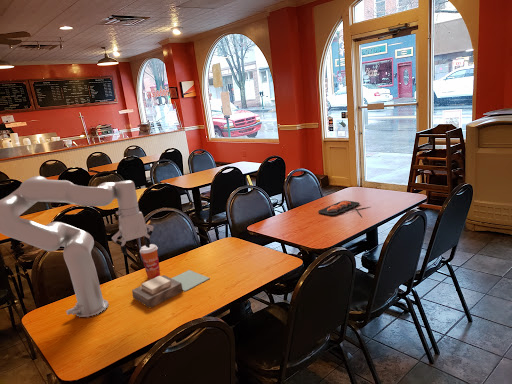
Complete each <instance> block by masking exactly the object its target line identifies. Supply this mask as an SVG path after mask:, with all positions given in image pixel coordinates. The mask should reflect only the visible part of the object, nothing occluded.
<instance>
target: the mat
mask: <svg viewBox="0 0 512 384" xmlns="http://www.w3.org/2000/svg"><path fill="white" fill-rule="evenodd" d="M170 278H171V279H174V280H176V281H178V282H180V283H181V284H182V289H183V292H187V291H189V290H191V289H192V288H195V287H196V286H199V285H201V284H202V283H204V282H206V281H208V280H210V277H208V276H206V275H203V274H200V273H198V272H195V271H193V270H191V269H188V270H186V271H184V272H182V273H180V274H178V275H175V276H173V277H170Z"/></svg>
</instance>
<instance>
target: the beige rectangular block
mask: <svg viewBox="0 0 512 384" xmlns="http://www.w3.org/2000/svg"><path fill="white" fill-rule="evenodd" d="M161 276H162V275H160V276H158V277H155V278H153V279H149V280H147V281H144V282H142V283H141V285H140V286H142V289H144V290H146V291H148V292H150V293H152V294H154V293H156V292H158V291H160V290H162V289H164V288H166V287H168V286H170V285H171V281H170V280H168V279H166V278H164V277H161Z"/></svg>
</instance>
